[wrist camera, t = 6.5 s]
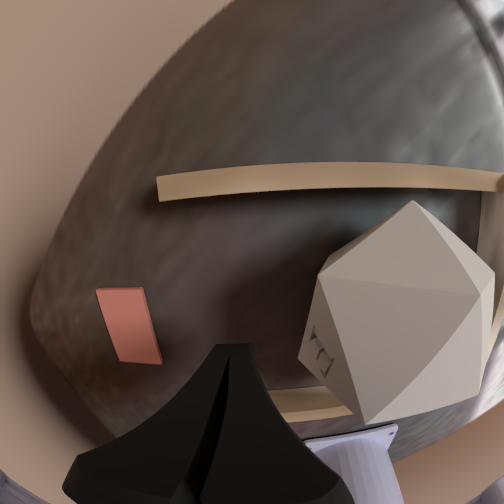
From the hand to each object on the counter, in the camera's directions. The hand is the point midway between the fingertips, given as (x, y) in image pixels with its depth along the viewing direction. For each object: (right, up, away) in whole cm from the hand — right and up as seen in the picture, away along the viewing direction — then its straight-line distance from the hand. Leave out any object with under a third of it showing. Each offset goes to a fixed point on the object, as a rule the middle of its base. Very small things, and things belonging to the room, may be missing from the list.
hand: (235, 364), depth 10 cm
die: (+7, +3, +4) cm, 8 cm away
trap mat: (-6, 0, +5) cm, 8 cm away
